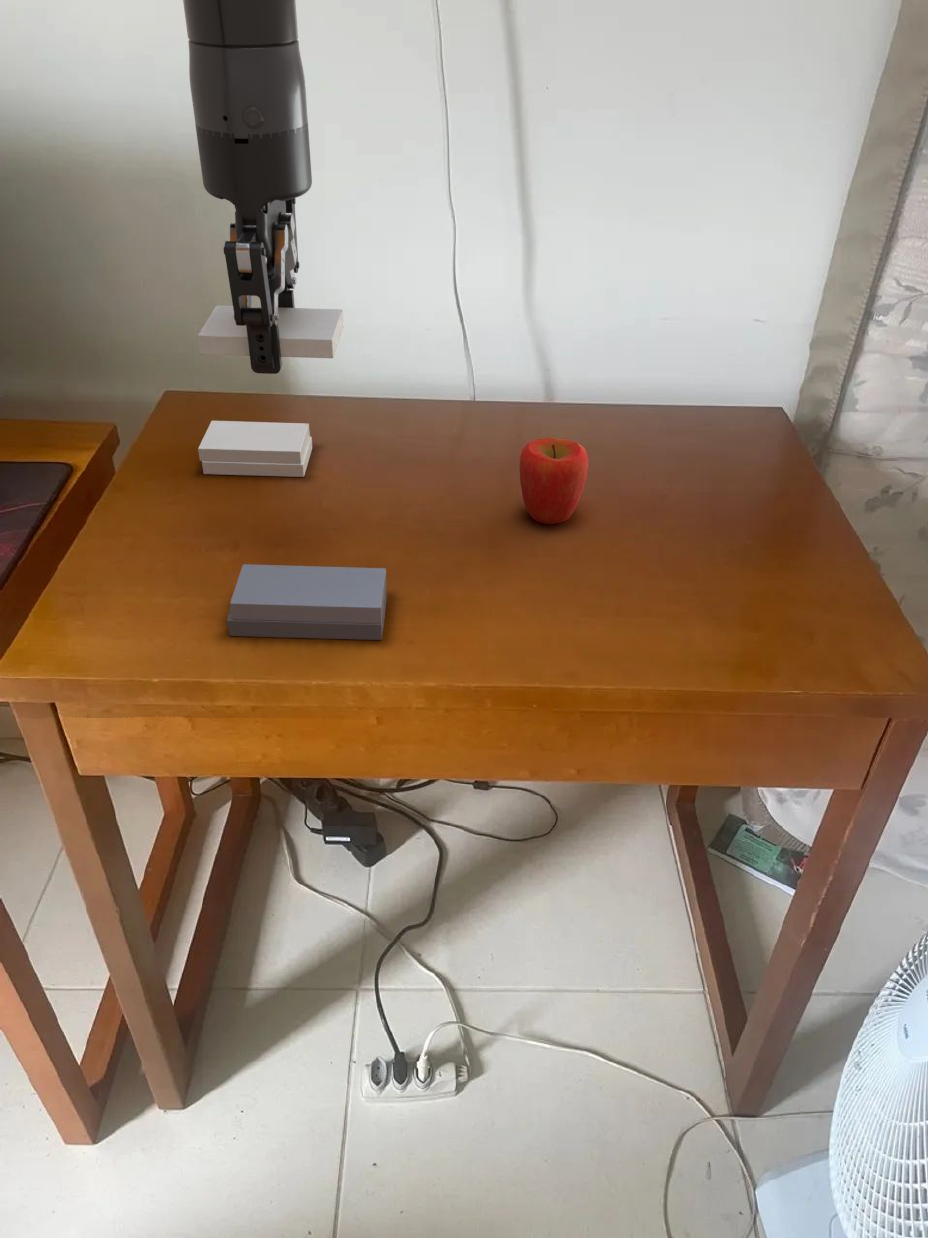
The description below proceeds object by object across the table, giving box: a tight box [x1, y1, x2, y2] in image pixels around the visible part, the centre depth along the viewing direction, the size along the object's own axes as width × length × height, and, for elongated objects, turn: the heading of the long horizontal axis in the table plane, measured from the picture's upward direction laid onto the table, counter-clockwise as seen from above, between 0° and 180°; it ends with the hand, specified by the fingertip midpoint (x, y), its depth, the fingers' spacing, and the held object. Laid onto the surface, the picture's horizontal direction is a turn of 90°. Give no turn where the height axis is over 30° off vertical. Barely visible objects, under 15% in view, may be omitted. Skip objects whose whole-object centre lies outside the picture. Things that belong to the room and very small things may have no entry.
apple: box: [519, 437, 590, 525], centre depth 91 cm, size 6×6×8 cm
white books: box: [197, 420, 313, 478], centre depth 99 cm, size 10×6×3 cm, turn 89°
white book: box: [197, 305, 345, 359], centre depth 75 cm, size 10×6×2 cm, turn 88°
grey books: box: [226, 563, 388, 641], centre depth 78 cm, size 12×6×3 cm, turn 89°
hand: (275, 352), depth 76 cm, fingers closed on white book, 6 cm apart
